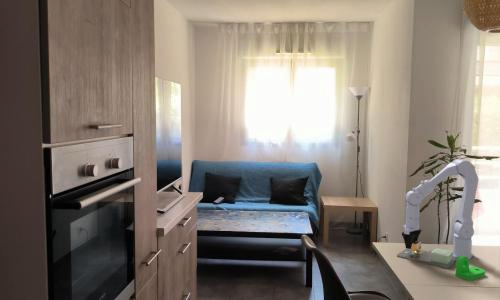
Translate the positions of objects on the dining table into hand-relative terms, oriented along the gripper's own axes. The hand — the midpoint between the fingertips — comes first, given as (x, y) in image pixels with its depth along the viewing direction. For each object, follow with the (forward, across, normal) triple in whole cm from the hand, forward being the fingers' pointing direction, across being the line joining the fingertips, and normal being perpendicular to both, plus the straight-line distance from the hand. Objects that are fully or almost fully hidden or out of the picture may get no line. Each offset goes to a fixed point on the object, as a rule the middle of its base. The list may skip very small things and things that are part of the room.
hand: (411, 246), depth 201 cm
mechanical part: (+4, +12, +28) cm, 31 cm away
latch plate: (+3, +2, +8) cm, 9 cm away
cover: (+2, +3, +14) cm, 15 cm away
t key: (+2, -1, +3) cm, 4 cm away
